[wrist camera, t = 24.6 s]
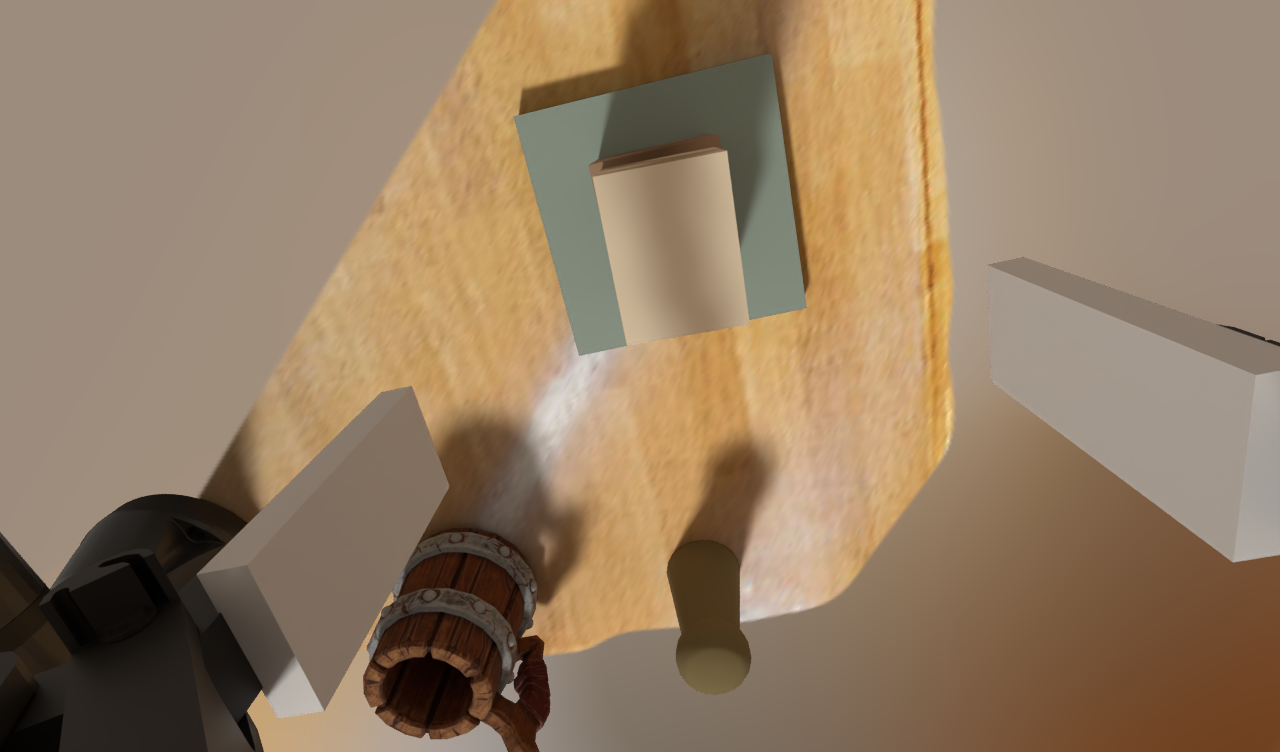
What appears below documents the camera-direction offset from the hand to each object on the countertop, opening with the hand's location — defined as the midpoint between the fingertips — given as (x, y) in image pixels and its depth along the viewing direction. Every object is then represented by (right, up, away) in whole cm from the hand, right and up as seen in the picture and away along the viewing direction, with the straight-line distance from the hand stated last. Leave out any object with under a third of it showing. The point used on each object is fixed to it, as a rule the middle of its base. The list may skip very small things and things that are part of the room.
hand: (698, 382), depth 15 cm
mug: (-14, -18, +40) cm, 46 cm away
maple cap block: (0, +8, +21) cm, 22 cm away
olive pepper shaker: (+4, -16, +39) cm, 42 cm away
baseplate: (0, +11, +29) cm, 31 cm away
